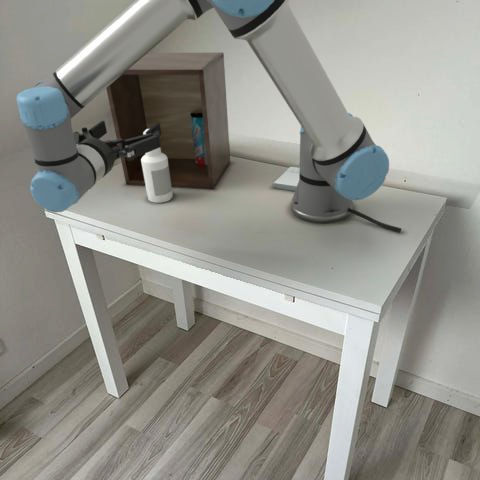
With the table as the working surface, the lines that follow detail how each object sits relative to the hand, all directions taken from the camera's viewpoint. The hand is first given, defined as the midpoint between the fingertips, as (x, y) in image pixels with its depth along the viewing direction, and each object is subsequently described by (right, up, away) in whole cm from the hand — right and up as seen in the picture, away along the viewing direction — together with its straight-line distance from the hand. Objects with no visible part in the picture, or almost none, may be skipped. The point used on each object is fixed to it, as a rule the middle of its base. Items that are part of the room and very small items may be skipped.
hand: (131, 127), depth 112 cm
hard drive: (+41, -5, +25) cm, 48 cm away
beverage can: (+14, +9, +33) cm, 37 cm away
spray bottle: (+3, -11, +21) cm, 24 cm away
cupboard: (+7, -1, +33) cm, 34 cm away
